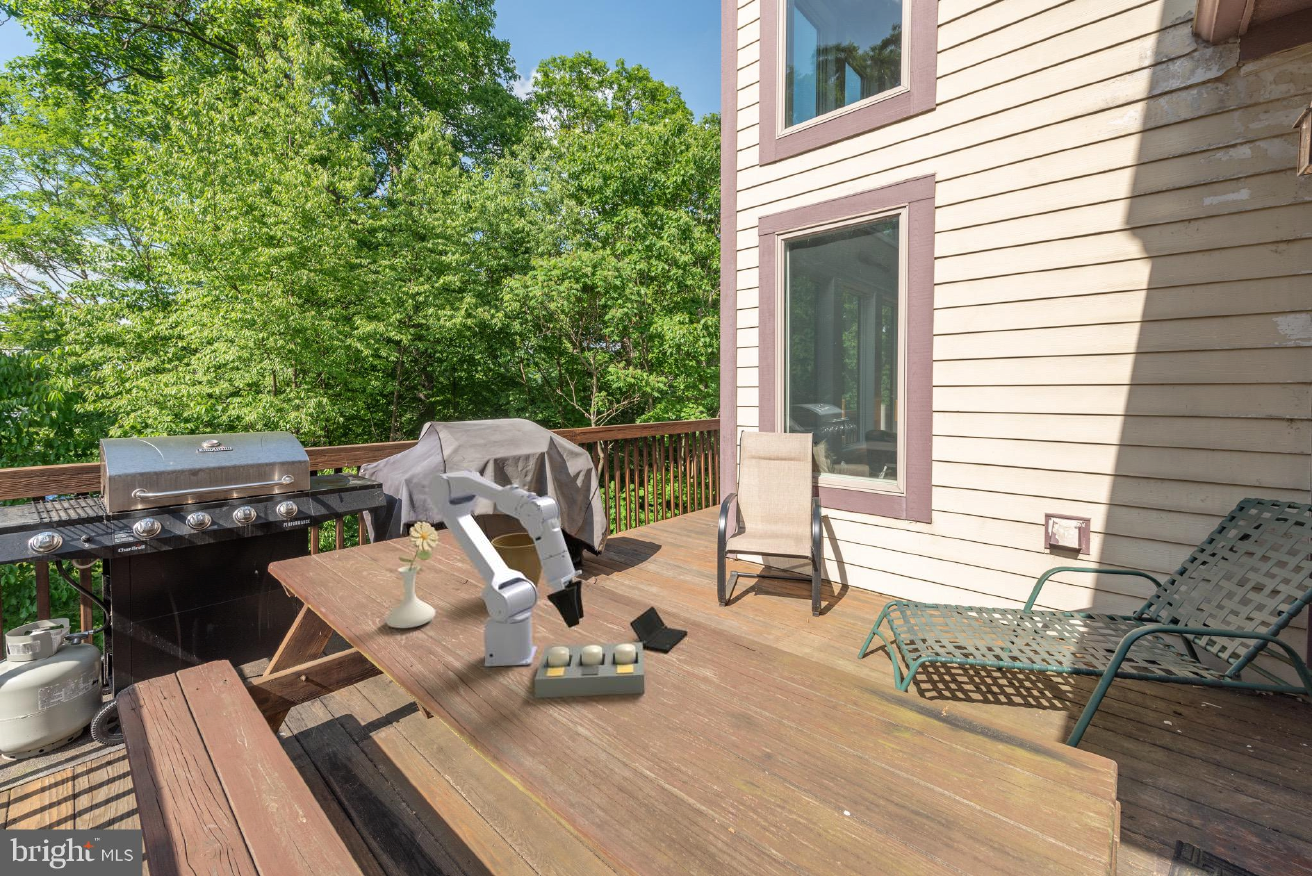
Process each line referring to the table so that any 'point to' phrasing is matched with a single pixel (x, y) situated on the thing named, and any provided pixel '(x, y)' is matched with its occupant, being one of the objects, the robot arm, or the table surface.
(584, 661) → the button middle
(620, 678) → the button board
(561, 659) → the button left
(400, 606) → the flower in vase
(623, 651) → the button right
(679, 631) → the handheld gaming console
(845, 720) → the table surface
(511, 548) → the plant pot
